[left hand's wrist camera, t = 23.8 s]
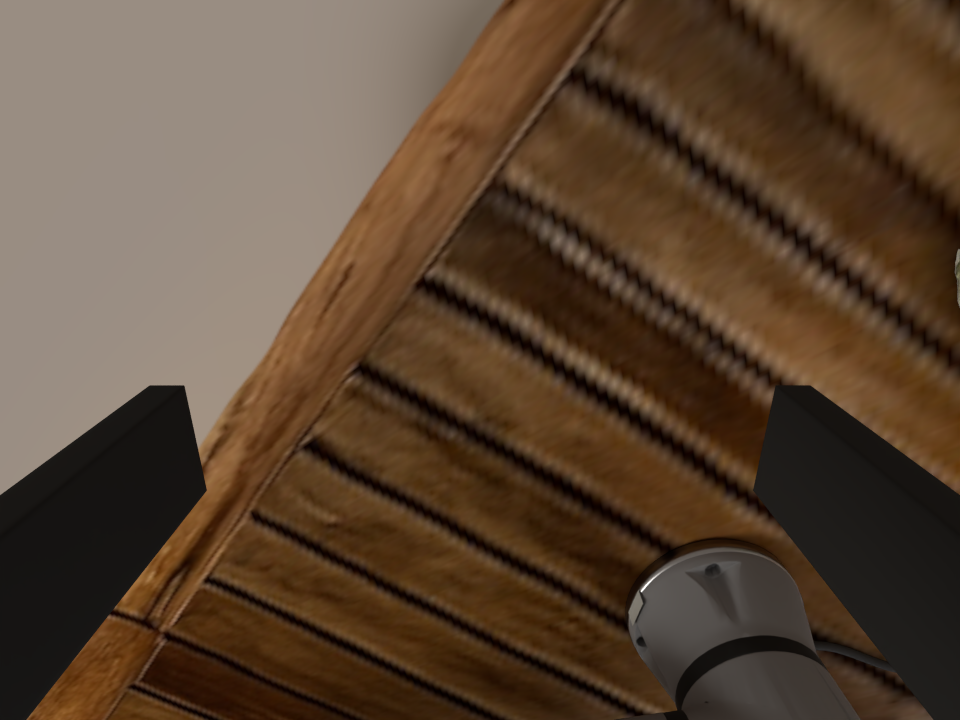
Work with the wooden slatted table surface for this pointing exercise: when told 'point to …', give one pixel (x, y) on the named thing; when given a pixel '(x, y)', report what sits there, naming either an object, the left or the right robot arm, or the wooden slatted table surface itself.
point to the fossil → (958, 273)
